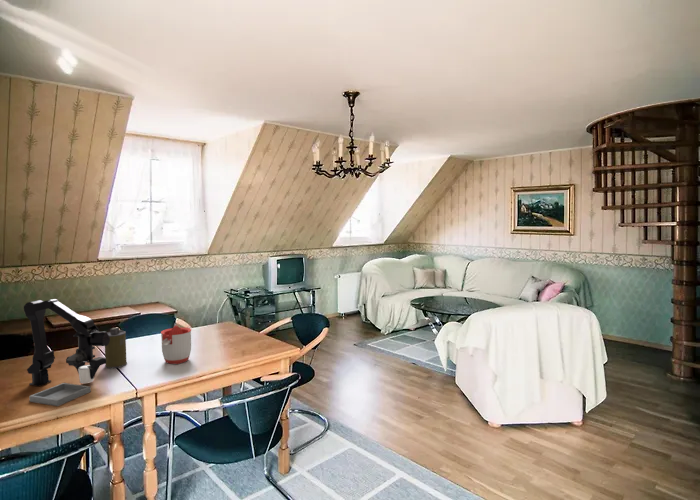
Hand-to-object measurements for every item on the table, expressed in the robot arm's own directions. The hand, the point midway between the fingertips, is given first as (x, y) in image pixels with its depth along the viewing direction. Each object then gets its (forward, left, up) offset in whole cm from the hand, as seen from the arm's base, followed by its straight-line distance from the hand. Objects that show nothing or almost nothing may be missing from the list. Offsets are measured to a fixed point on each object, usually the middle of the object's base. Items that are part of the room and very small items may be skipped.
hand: (86, 378), depth 208 cm
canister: (-9, +26, -3) cm, 28 cm away
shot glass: (0, 0, -2) cm, 2 cm away
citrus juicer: (+18, +40, -3) cm, 44 cm away
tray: (+2, -15, -3) cm, 15 cm away
